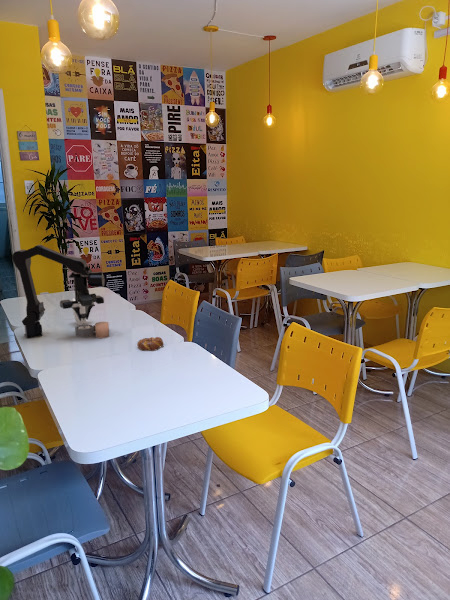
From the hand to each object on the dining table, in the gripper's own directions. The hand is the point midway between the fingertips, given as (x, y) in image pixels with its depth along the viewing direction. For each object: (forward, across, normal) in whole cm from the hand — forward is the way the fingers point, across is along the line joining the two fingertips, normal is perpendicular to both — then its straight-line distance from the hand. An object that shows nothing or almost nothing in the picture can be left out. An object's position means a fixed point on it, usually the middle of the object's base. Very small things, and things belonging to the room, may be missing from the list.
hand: (83, 319), depth 207 cm
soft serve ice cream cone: (+7, +4, +18) cm, 20 cm away
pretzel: (+8, +18, -33) cm, 38 cm away
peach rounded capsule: (+7, +6, -7) cm, 12 cm away
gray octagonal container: (+7, +1, 0) cm, 7 cm away
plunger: (+4, 0, 0) cm, 4 cm away
